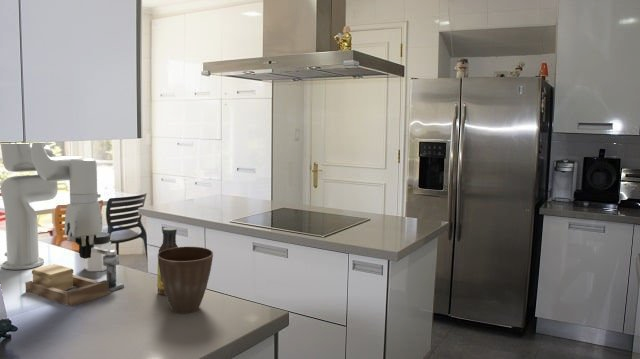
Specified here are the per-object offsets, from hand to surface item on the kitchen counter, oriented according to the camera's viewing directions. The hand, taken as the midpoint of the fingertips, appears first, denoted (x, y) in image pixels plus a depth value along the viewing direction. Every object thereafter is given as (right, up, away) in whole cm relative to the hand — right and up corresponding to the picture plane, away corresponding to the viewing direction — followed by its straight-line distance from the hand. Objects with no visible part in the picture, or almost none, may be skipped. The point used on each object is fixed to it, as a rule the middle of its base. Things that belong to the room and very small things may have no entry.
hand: (85, 257), depth 152 cm
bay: (-4, -10, -4) cm, 11 cm away
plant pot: (+35, -13, -13) cm, 39 cm away
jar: (-6, -7, +21) cm, 23 cm away
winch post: (+8, -10, +1) cm, 12 cm away
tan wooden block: (-10, -10, -1) cm, 13 cm away
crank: (+4, +1, +2) cm, 5 cm away
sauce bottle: (+26, -11, -1) cm, 28 cm away
